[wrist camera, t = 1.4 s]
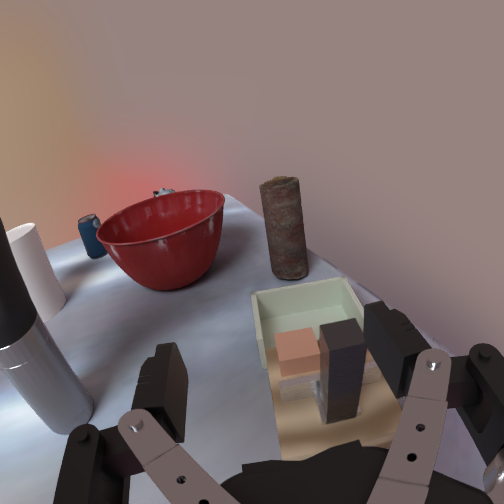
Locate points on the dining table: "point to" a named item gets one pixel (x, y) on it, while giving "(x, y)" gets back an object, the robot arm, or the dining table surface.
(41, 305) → the canister
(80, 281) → the dining table surface
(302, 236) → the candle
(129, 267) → the mixing bowl
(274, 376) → the curved wooden platform
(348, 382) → the dark piece
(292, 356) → the tile
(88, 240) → the soda can
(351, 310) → the tray
